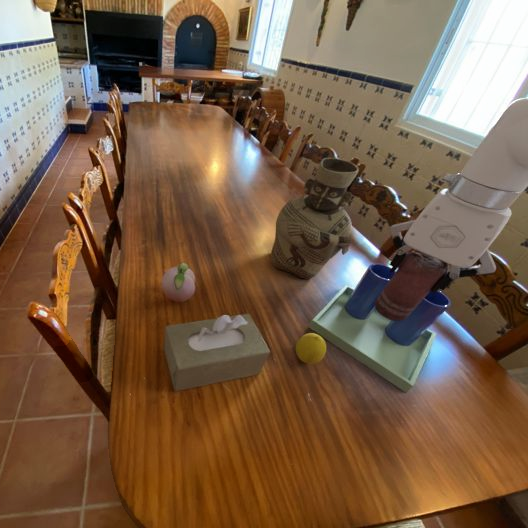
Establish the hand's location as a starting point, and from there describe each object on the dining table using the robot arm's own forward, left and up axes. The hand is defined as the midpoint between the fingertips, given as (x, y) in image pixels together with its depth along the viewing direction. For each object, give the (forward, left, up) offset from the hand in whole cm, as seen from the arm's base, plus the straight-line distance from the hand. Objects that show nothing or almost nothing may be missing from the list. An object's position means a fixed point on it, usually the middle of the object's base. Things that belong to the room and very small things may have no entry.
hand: (413, 278), depth 56 cm
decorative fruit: (+38, +24, -21) cm, 49 cm away
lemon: (+7, +15, -21) cm, 26 cm away
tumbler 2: (-5, -9, -20) cm, 23 cm away
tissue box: (+20, +31, -21) cm, 42 cm away
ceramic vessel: (+26, -16, -21) cm, 37 cm away
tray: (0, -4, -20) cm, 21 cm away
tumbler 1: (+5, -9, -20) cm, 23 cm away
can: (0, 0, -9) cm, 9 cm away
